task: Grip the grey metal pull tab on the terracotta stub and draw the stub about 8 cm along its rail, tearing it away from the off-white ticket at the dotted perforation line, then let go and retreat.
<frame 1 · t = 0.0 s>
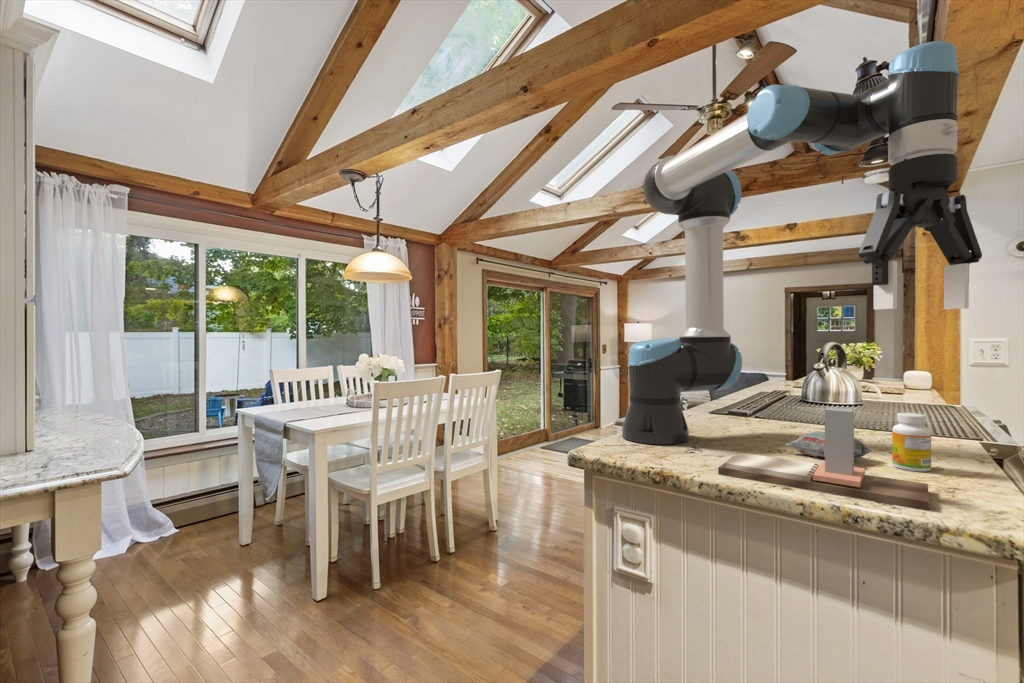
hand: (921, 309, 69), 28 cm above the countertop, fingers open, 13 cm apart
stub: (839, 443, 77), point 7 cm above the countertop, slide at 0.0 cm
supplement bottle: (911, 469, 87), on the countertop
packaged food: (827, 459, 94), on the countertop
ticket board: (816, 482, 79), on the countertop
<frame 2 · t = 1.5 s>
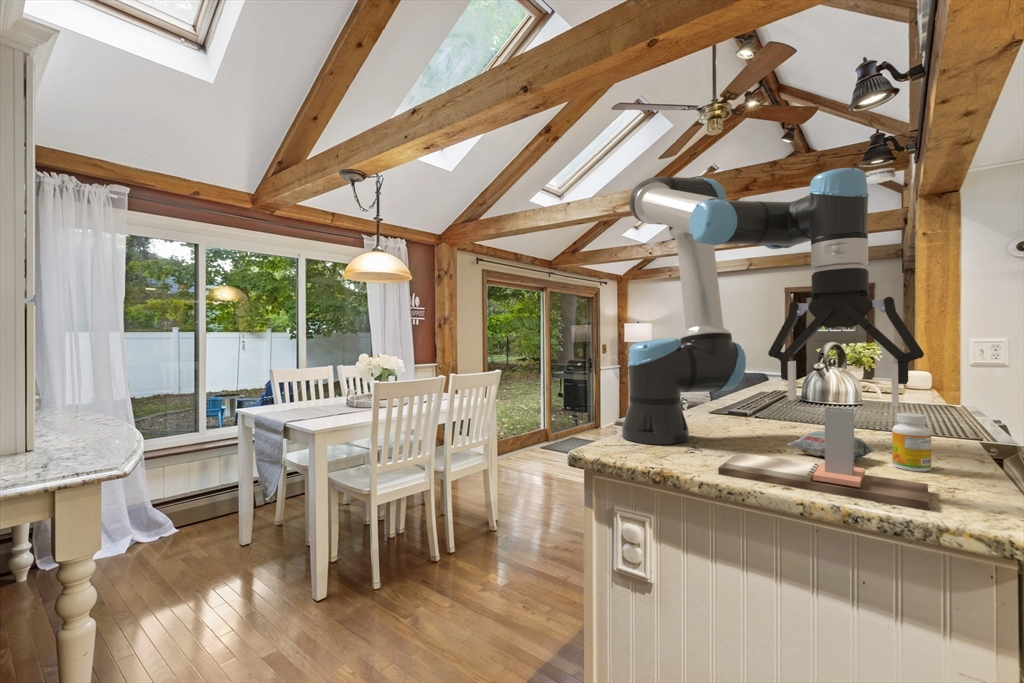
hand: (840, 402, 77), 13 cm above the countertop, fingers open, 13 cm apart
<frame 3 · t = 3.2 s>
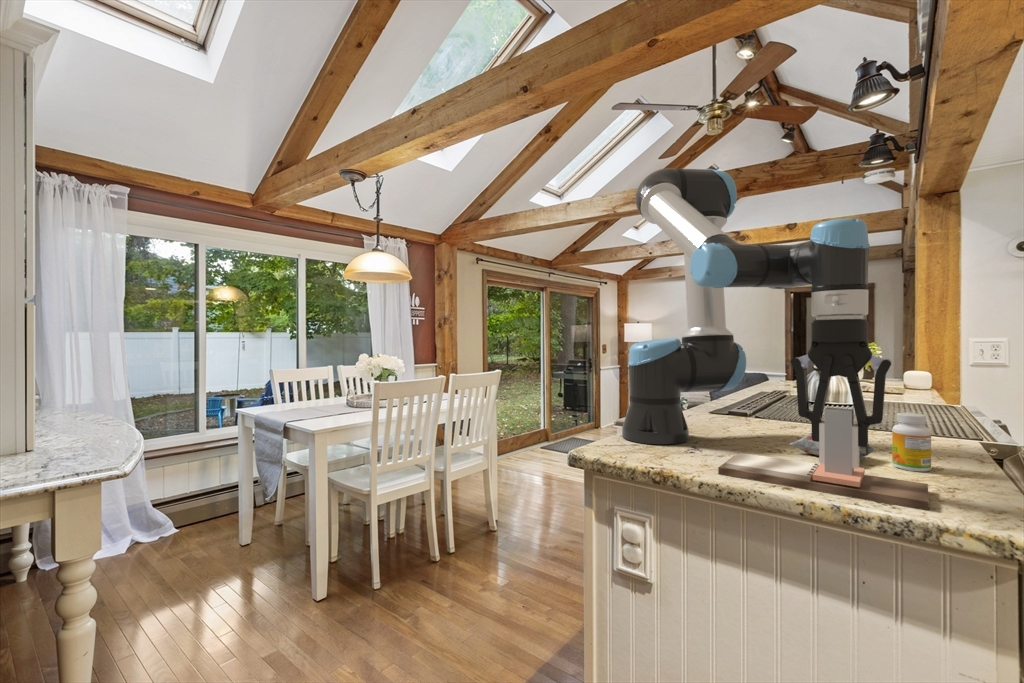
hand: (839, 463, 77), 4 cm above the countertop, fingers closed on stub, 4 cm apart
stub: (839, 443, 77), point 7 cm above the countertop, slide at 0.0 cm, touching gripper
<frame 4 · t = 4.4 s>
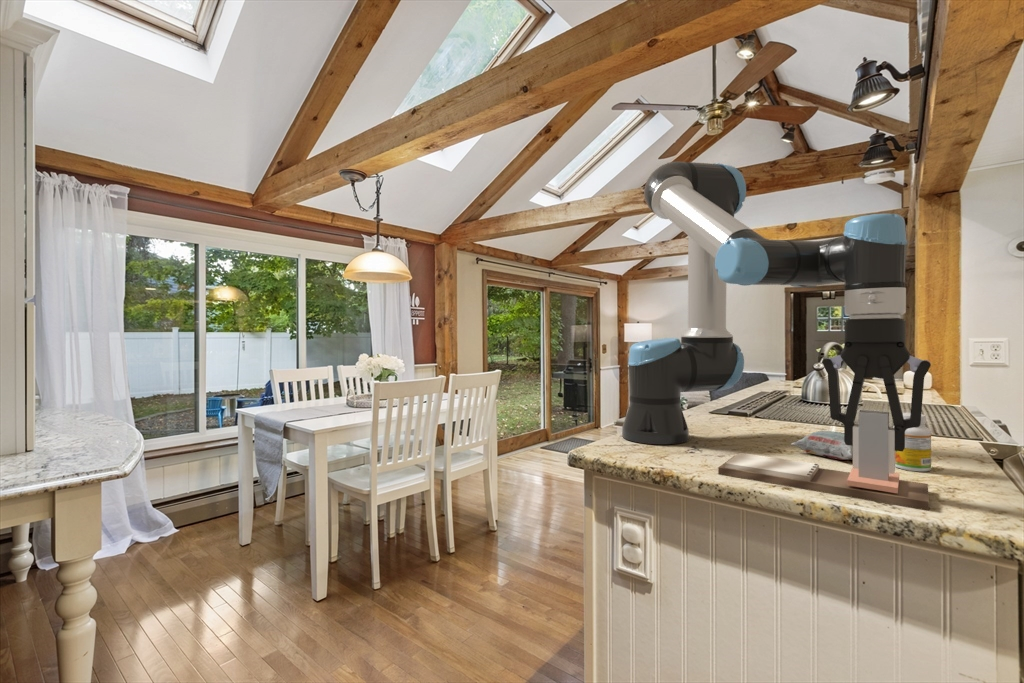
hand: (873, 468, 74), 4 cm above the countertop, fingers closed on stub, 4 cm apart
stub: (873, 447, 74), point 7 cm above the countertop, slide at 4.4 cm, touching gripper
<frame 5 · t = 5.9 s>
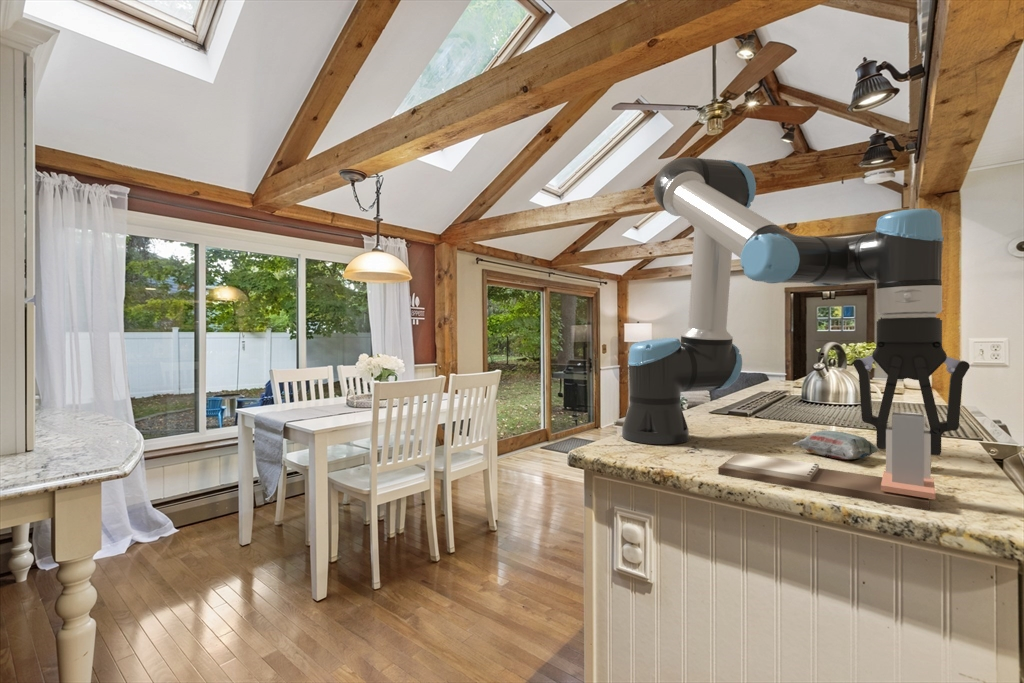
hand: (907, 473, 72), 4 cm above the countertop, fingers closed on stub, 4 cm apart
stub: (907, 450, 72), point 7 cm above the countertop, slide at 8.5 cm, touching gripper
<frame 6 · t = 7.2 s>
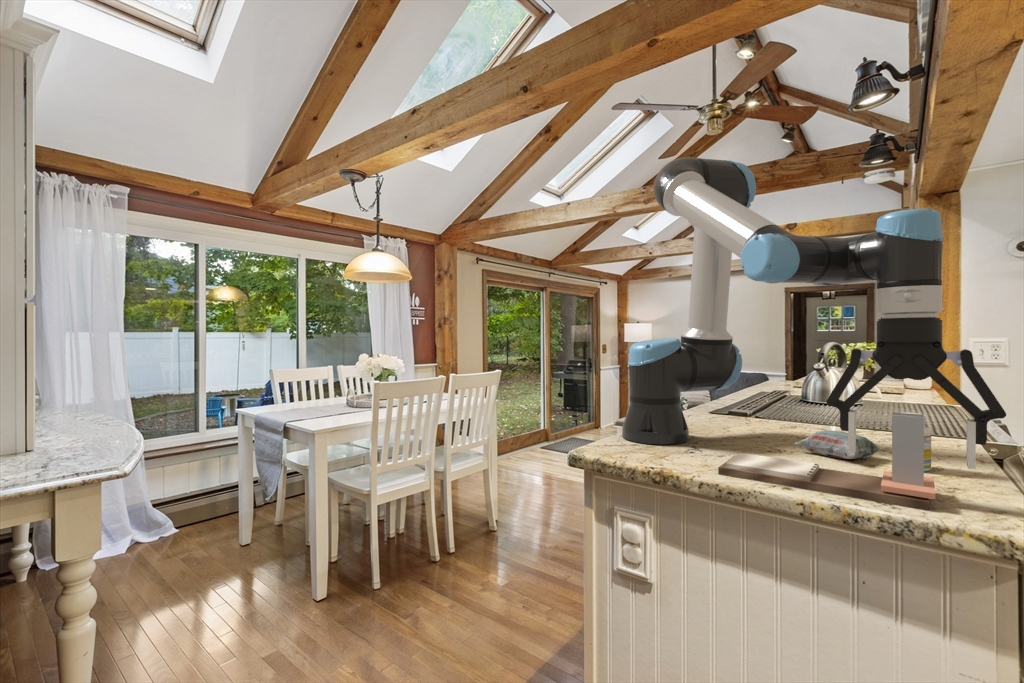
hand: (907, 459, 72), 6 cm above the countertop, fingers open, 13 cm apart
stub: (907, 450, 72), point 7 cm above the countertop, slide at 8.5 cm
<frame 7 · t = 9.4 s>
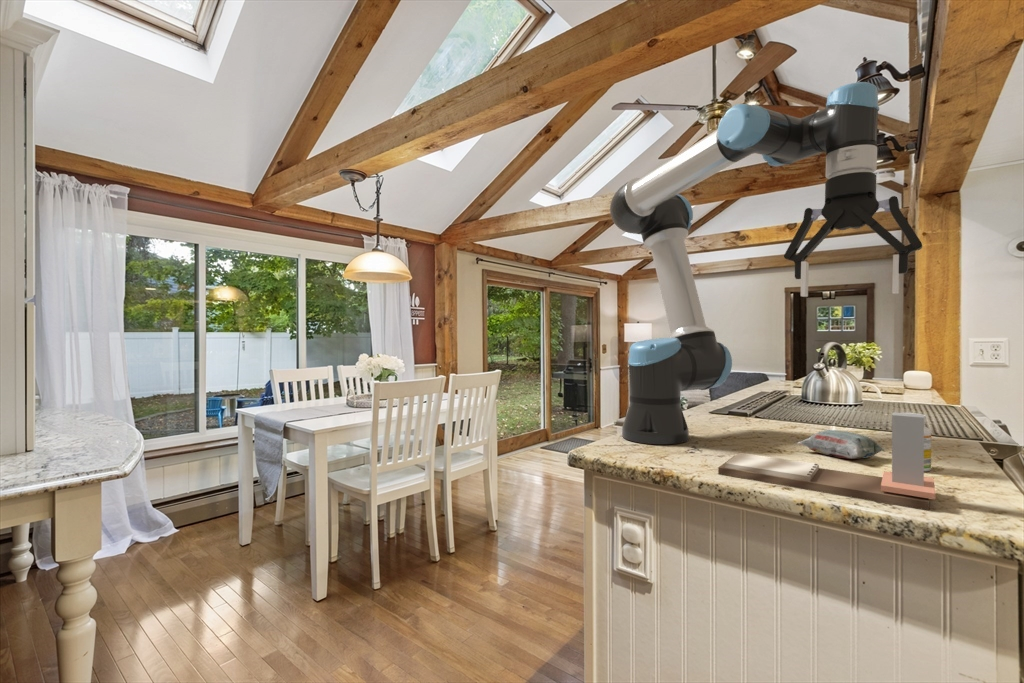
hand: (847, 295, 87), 31 cm above the countertop, fingers open, 13 cm apart
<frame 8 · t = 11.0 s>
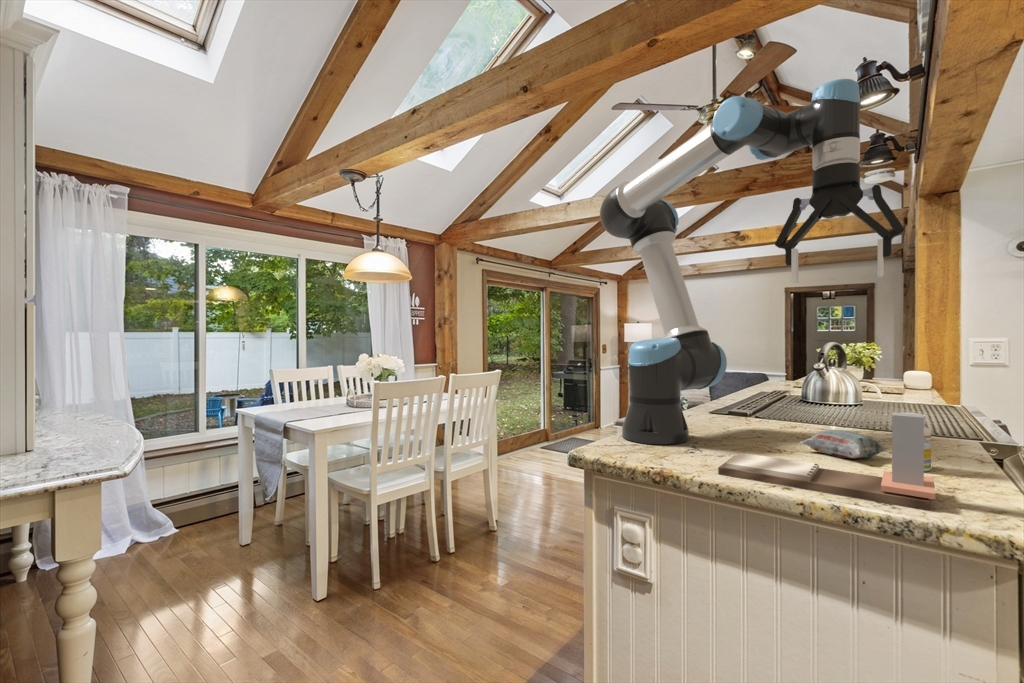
hand: (835, 279, 92), 35 cm above the countertop, fingers open, 13 cm apart
at the end: stub slide at 8.5 cm; the gripper is holding nothing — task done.
